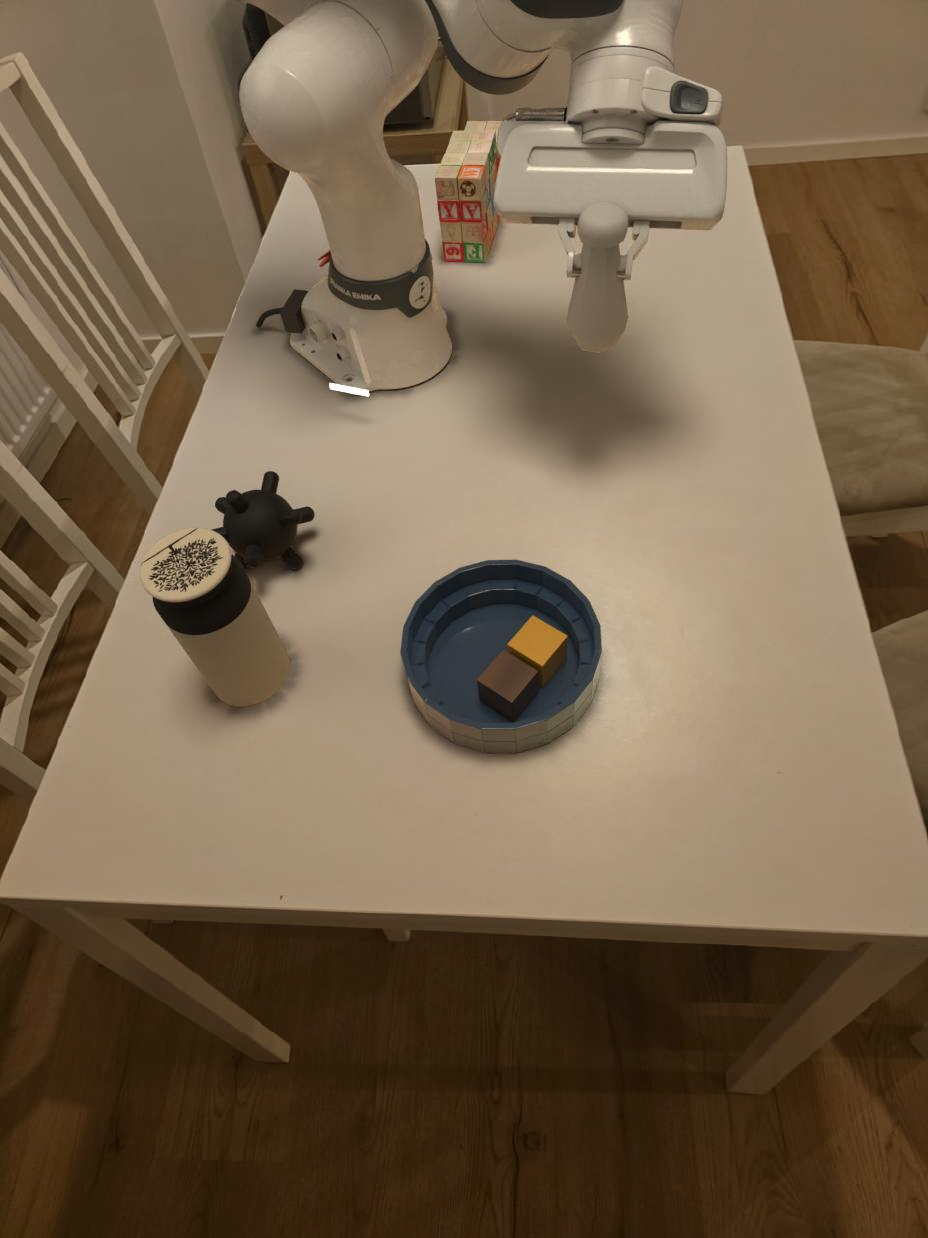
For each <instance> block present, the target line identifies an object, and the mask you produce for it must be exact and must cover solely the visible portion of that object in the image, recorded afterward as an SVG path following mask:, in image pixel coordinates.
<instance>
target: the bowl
mask: <svg viewBox="0 0 928 1238" xmlns="http://www.w3.org/2000/svg"><path fill="white" fill-rule="evenodd" d="M532 615H533V616H535V617H537V618H538V619H540V620H542V621H543V622H545V623H547V624H549V625H550V626H552V627H554V628H555V629H557V630H559V631H560V632H562V633H564V634H565V635H567V636H568V642H567V659H566V660H565V661H564V662H563V663H562V665H561V666H560V667H559V668H558V670H557V671H556V672H555V673H554V674H553V676H552V677H551V678H550V679H549V680H548V682H547V683H546V684H545V685H544V687H541V686H540V685H539V693H538V694H537V695H536V696H535V697H534V699H533V700H532V701H531V702H530V704H529V705H528V706H527V707H526V708H525V710H524V711H523V712H522V713H521V714H520V716H519V717H518V718H517V719H516V721H515V722H511V721H510V720H508V719H507V718H505V717H504V716H502V715H501V714H499V713H498V712H496V711H495V710H493V709H492V708H490V707H489V706H487V705H486V704H484V703H483V702H481V701H480V700H479V693H478V686H477V679H478V677H479V676H480V675H481V674H482V673H483V672H484V671H485V669H486V668H487V667H488V666H489V665H490V664H491V663H492V661H493V660H494V659H495V658H496V657H497V656H498V655H499V653H500V652H501V651H502V650H503V649H504V650H505V651H507V652H508V647H507V644H508V643H509V642H510V641H511V639H512V638H513V637H514V636H515V635H516V634H517V633H518V631H519V630H520V629H521V628H522V627H523V626H524V625H525V623H526V622H527V621H528V620H529V619H530V618H531V617H532ZM400 643H401V644H400V656H401V660H402V665H403V668H404V671H405V676H406V678H407V683H408V687H409V690H410V693H411V697H412V700H413V703H414V705H415V707H416V708H417V710H418V711H419V712H420V714H421V715H422V717H423V718H424V720H425V721H426V722H427V724H428V725H429V727H431V728H432V729H433V730H435V731H436V732H438V734H440V735H442V736H443V737H445V738H446V739H448V740H449V741H451V742H452V743H453V744H455V745H458V746H462V747H465V748H468V749H471V750H474V751H478V752H481V753H484V754H485V753H486V754H519V753H522V752H526V751H528V750H529V751H530V750H532V749H536V748H540V747H543V746H545V745H548V744H550V743H551V742H553V741H554V740H555V739H557V738H559V737H560V736H561V735H563V734H565V733H566V732H568V731H569V730H571V729H572V728H573V727H574V726H575V725H576V724H577V723H578V721H579V720H580V719H581V718H582V716H583V715H584V714H585V712H586V711H587V710H588V708H589V707H590V706H591V704H592V702H593V699H594V696H595V692H596V689H597V686H598V683H599V680H600V671H601V664H602V654H603V647H602V646H603V645H602V628H601V623H600V621H599V619H598V616H597V614H596V612H595V610H594V608H593V605H592V603H591V601H590V599H589V598H588V597H587V596H586V595H585V594H584V593H583V592H582V591H581V590H580V589H579V588H578V587H577V586H576V584H574V582H573V581H572V580H570V579H569V578H567V577H565V576H564V575H561V574H560V573H558V572H557V571H555V570H553V569H551V568H549V567H548V566H545V565H540V564H537V563H532V562H528V561H525V560H521V559H486V560H483V561H482V560H481V561H479V562H475V563H472V564H467V565H464V566H461V567H457V568H456V569H455V570H453V571H451V572H449V573H448V574H446V575H444V576H442V577H441V578H439V579H437V580H436V581H434V582H433V583H432V584H431V585H430V586H429V587H428V588H427V589H426V590H425V591H424V592H423V594H421V595H420V596H419V597H418V598H417V599H416V601H415V602H414V603H413V605H412V607H411V610H410V612H409V613H408V615H407V617H406V619H405V622H404V624H403V626H402V633H401V642H400Z"/></svg>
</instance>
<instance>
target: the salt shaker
mask: <svg viewBox="0 0 928 1238" xmlns="http://www.w3.org/2000/svg"><path fill="white" fill-rule="evenodd" d="M628 230H629V228H628V216H627V214H626V211H625V210H624V209H623V208H621V207H620V206H618V205H617V204H613V203H609V202H602V203H596V204H592V205H590V206H589V207H587V208H586V209H585V210H584V211H582V213H581V215H580V217H579V220H578V225H577V226H576V231H577V235H578V238H579V240H580V242H581V243H582V246H581V250H580V251H581V252H580V254H581V255H580V259H581V264H582V269H581V270H582V272H581V275H580V276H579V277H576V278H574V283H573V288H572V292H571V297H570V300H569V304H568V305H569V306H568V309H567V314H566V324H567V327H568V330H569V332H570V334H571V336H572V337H573V340H574V342H575V343H576V345H578V347H579V348H580V349H581V351H585V352H590V353H598V354H601V353H604V352H606V351H607V350H609V349H611V348H613V347H615V346H616V345H617V343H618V342H619V340H620V339H621V337H622V335H623V334H624V332H625V330H626V327H627V323H628V320H629V313H628V304H627V297H626V288H625V280H622V279H621V278H618V277H617V275H616V272H617V270H618V269H619V267H620V255H621V251H620V250H621V249H620V244H621V243H623V242H624V241H625V239H626V236H627V234H628Z"/></svg>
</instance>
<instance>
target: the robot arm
mask: <svg viewBox="0 0 928 1238" xmlns="http://www.w3.org/2000/svg"><path fill="white" fill-rule="evenodd" d="M237 1H240V2H243V3H246V4H250V5H251V6H254V7H257V8H258V9H260V10H261V11H263V12H265V13H267V14H268V15H269V16H270V17H272V18H274V19H275V20H276V21H278V22H279V23H280V24H281V25H282V26H283V27H282V28H280V29H279V30H278V31H276V32H275V33H273V34H272V35H271V36H270V37H269V38H268V39H267V40H266V41H265V42H264V44H263V46H261V48H260V50H259V51H258V52H257V54H256V55H255V57H254V58H253V60H252V61H251V63H250V64H249V66H248V67H247V69H246V70H245V72H244V73H243V76H242V77H241V81H240V85H239V94H238V95H239V96H238V97H239V106H240V111H241V114H242V118H243V121H244V125H245V127H246V129H247V131H248V133H249V135H250V136H251V138H252V140H253V141H254V143H255V145H256V146H257V147H258V148H259V150H261V151H262V153H263V154H264V155H265V156H266V157H267V158H268V159H269V160H271V162H273V163H274V164H276V165H278V166H279V167H281V168H282V169H285V170H286V171H289V172H292V173H295V174H297V175H298V176H300V177H301V179H302V180H303V181H304V182H305V184H306V185H307V187H308V188H309V190H310V192H311V194H312V196H313V198H314V200H315V203H316V205H317V208H318V211H319V215H320V218H321V222H322V225H323V228H324V232H325V237H326V239H327V244H328V248H329V250H327V251H326V252H325V253H323V254H322V255H321V256H319V257H318V258H317V261H318V262H319V261H321V262H320V263H319V268H322V267H324V266H326V265H327V264H328V269H327V270H328V272H327V274H326V275H325V276H324V277H323V278H321V279H320V280H318V282H316V283H315V284H314V285H313V286H312V287H311V288H310V289H309V290H305V289H297V288H294V289H293V290H292V292H291V294H290V295H289V297H288V298H287V300H286V301H285V302H284V305H283V306H282V307H277V308H270V309H268V310H266V311H264V312H262V313H261V314H260V316H259V317H258V319H257V321H256V323H255V327H256V328H257V329H259V328H261V327H262V325H263V324H264V322H265V320H266V319H268V318H269V317H272V316H276V315H280V318H281V322H282V325H283V328H284V331H285V333H290V336H289V345H290V348H292V349H293V350H294V351H295V352H297V353H298V354H299V355H301V356H302V357H303V358H304V359H305V360H307V361H308V362H309V363H310V364H312V365H313V366H314V367H315V368H316V369H318V371H320V372H321V373H323V374H324V375H325V376H326V377H327V378H328V379H330V380H331V382H329V384H328V385H329V390H333V391H338V392H343V393H347V394H348V395H350V396H351V395H352V396H356V395H358V396H364V397H370V392H373V391H378V390H398V389H404V388H409V387H413V386H416V385H418V384H421V383H423V382H425V381H428V380H429V379H431V378H432V377H434V376H436V375H437V374H439V372H441V371H442V370H443V369H444V368H445V367H446V365H447V364H448V362H449V360H450V358H451V356H452V352H453V343H452V339H451V338H450V337H451V336H450V334H449V331H448V329H447V326H448V317H447V313H446V310H445V309H443V308H442V306H441V301H440V298H439V293H438V289H437V285H436V281H435V277H434V267H433V255H432V251H431V248H430V244H429V242H428V240H427V239H426V236H425V228H424V222H423V221H424V220H423V215H422V208H421V207H422V205H421V200H420V199H421V198H420V193H419V191H420V190H419V185H418V182H417V180H416V178H415V176H414V174H413V173H412V172H411V170H409V169H408V168H407V167H406V166H405V165H403V164H402V163H401V162H399V161H397V160H395V159H393V158H391V157H390V155H389V153H388V151H387V147H386V144H385V140H384V125H385V120H386V117H387V116H388V115H389V114H390V113H391V112H392V111H393V110H394V109H395V108H396V107H397V106H398V105H399V104H401V103H402V102H403V101H404V100H405V99H406V98H407V97H408V96H409V95H410V94H411V93H412V92H413V91H414V90H415V89H416V88H417V86H418V85H419V83H420V81H422V78H423V77H424V75H425V73H426V72H427V69H428V68H429V66H430V64H431V62H432V60H433V58H434V56H435V54H436V50H437V48H438V43H439V40H440V42H441V44H442V45H441V46H442V48H443V51H444V54H445V56H446V57H447V60H448V62H449V63H450V65H451V66H452V68H453V70H454V71H455V72H456V74H457V75H458V76H459V77H460V78H461V79H462V80H463V81H464V82H465V83H466V84H468V85H469V86H471V87H472V88H474V89H476V90H477V91H480V92H482V93H485V94H487V95H488V94H489V95H495V96H501V95H502V96H504V95H509V94H513V93H516V92H518V91H520V90H522V89H524V88H525V87H526V86H527V85H529V84H530V83H531V82H532V81H533V80H534V79H535V77H536V76H537V74H538V73H539V72H540V70H541V68H542V67H543V65H544V64H545V63H546V61H547V59H548V58H549V56H550V54H551V53H552V52H553V51H554V50H556V49H557V50H561V51H565V52H566V53H567V54H568V55H569V57H570V62H571V64H570V71H569V73H570V74H569V82H568V83H569V84H568V91H567V93H568V94H567V102H566V104H567V105H566V106H565V107H543V108H532V107H518V108H516V109H515V112H512V113H510V114H508V115H507V116H505V118H503V119H502V120H501V121H502V122H501V124H500V126H499V130H498V138H497V153H498V156H499V158H500V163H499V168H498V172H497V178H496V183H495V190H494V200H493V203H494V208H495V210H496V212H497V214H498V215H499V216H500V217H499V219H501V220H502V222H504V223H506V224H518V225H519V224H521V225H542V226H543V225H544V226H558V229H557V232H558V233H557V234H558V235H559V239H560V241H561V243H562V246H563V249H564V251H565V252H566V256H567V260H566V261H567V262H566V277H567V278H570V279H571V278H572V279H575V278H576V277H579V276H580V275H581V272H582V270H581V269H582V264H581V259H580V255H581V253H577V252H576V250H575V247H574V246H573V243H572V240H571V239H575V238H576V234H577V225H578V220H579V217H580V215H581V213H582V211H584V210H585V209H586V208H587V207H589V206H590V205H592V204H596V203H602V202H609V203H613V204H617V205H618V206H620V207H621V208H623V209H624V210H625V211H626V214H627V216H628V229H629V228H630V229H631V228H632V236H631V237H632V240H633V241H634V242H632V245H631V247H629V250H628V251H627V252H626V254H624V255H623V254H622V255H621V254H620V267H619V269H618V270H617V272H616V275H617V277H618V278H621V279H622V280H624V281H631V279H632V272H633V265H634V261H635V260H636V259H637V257H638V256H639V255H640V253H641V252H642V250H643V249H644V247H645V246H646V244H647V243H648V242H649V235H650V229H654V230H655V229H659V230H684V231H711V230H713V229H714V228H715V227H716V226H717V225H718V224H719V223H720V222H721V221H722V219H723V217H724V213H725V210H726V209H725V208H726V200H727V191H728V189H727V188H728V146H727V141H726V138H725V136H724V133H723V132H722V130H721V129H720V124H721V122H722V116H723V95H722V93H721V92H720V91H719V90H717V89H716V88H713V87H711V86H707V85H705V84H703V83H699V82H696V81H694V80H691V79H688V78H686V77H683V76H680V75H679V74H677V73H675V65H676V64H675V54H674V38H675V33H676V30H677V27H678V25H679V22H680V19H681V16H682V10H683V2H684V0H237ZM514 119H515V120H514Z"/></svg>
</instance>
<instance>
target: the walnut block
mask: <svg viewBox="0 0 928 1238" xmlns="http://www.w3.org/2000/svg"><path fill="white" fill-rule="evenodd" d="M477 686H478V693H479V700H480V701H481V702H483V703H484V704H486V705H487V706H489V707H490V708H492V709H493V710H495V711H496V712H498V713H499V714H501V715H502V716H504V717H505V718H507V719H508V720H510V721H511V722H515V721H516V719H517V718H518V717H519V716H520V714H521V713H522V712H523V711H524V710H525V708H526V707H527V706H528V705H529V704H530V702H531V701H532V700H533V699H534V697H535V696H536V695H537V694H538V693H539V680H538V671H537V670H536V669H534V668H533V667H531V666H529V665H528V664H526V663H525V662H523V661H521V660H520V659H518V658H516V657H515V656H513V655H512V654H510V653H508V652H507V651H505V650H504V649H503V650H502V651H501V652H500V653H499V655H498V656H497V657H496V658H495V659H494V660H493V661H492V663H491V664H490V665H489V666H488V667H487V668H486V669H485V671H484V672H483V673H482V674H481V675H480V676H479V677H478V679H477Z"/></svg>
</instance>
